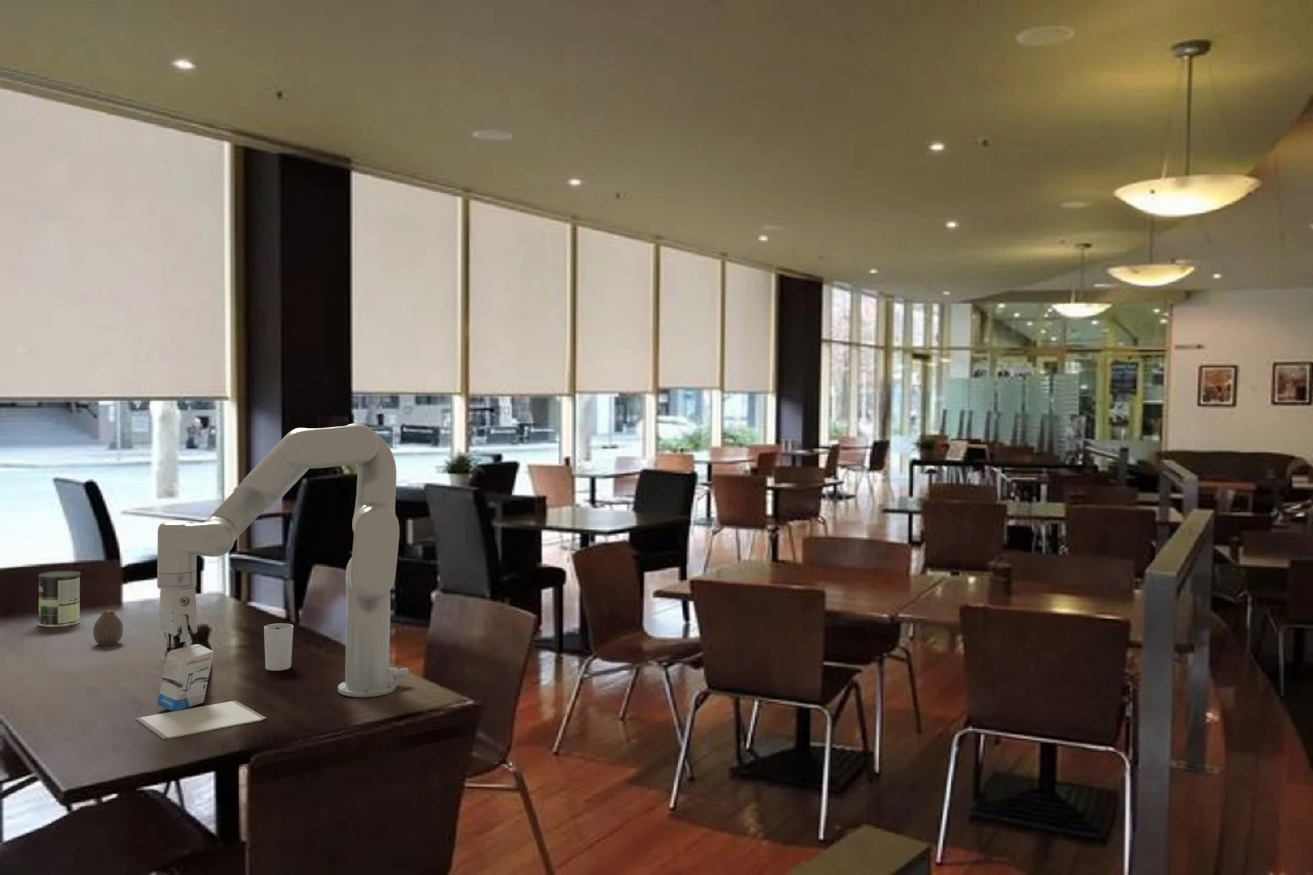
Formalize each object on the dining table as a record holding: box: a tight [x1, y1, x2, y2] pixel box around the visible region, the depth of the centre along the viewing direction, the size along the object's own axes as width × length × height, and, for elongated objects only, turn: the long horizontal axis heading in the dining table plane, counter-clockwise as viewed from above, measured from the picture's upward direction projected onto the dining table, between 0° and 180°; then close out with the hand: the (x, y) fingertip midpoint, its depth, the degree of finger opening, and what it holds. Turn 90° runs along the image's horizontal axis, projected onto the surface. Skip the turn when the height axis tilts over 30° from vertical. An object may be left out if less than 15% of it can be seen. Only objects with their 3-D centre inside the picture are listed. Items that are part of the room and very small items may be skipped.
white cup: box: [263, 623, 294, 672], centre depth 255 cm, size 7×7×10 cm
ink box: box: [157, 643, 215, 712], centre depth 221 cm, size 9×5×12 cm, turn 160°
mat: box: [135, 700, 267, 740], centre depth 213 cm, size 20×16×1 cm
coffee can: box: [38, 570, 81, 628], centre depth 297 cm, size 10×10×14 cm
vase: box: [92, 609, 124, 647], centre depth 274 cm, size 7×7×9 cm
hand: (176, 665), depth 224 cm, fingers closed
